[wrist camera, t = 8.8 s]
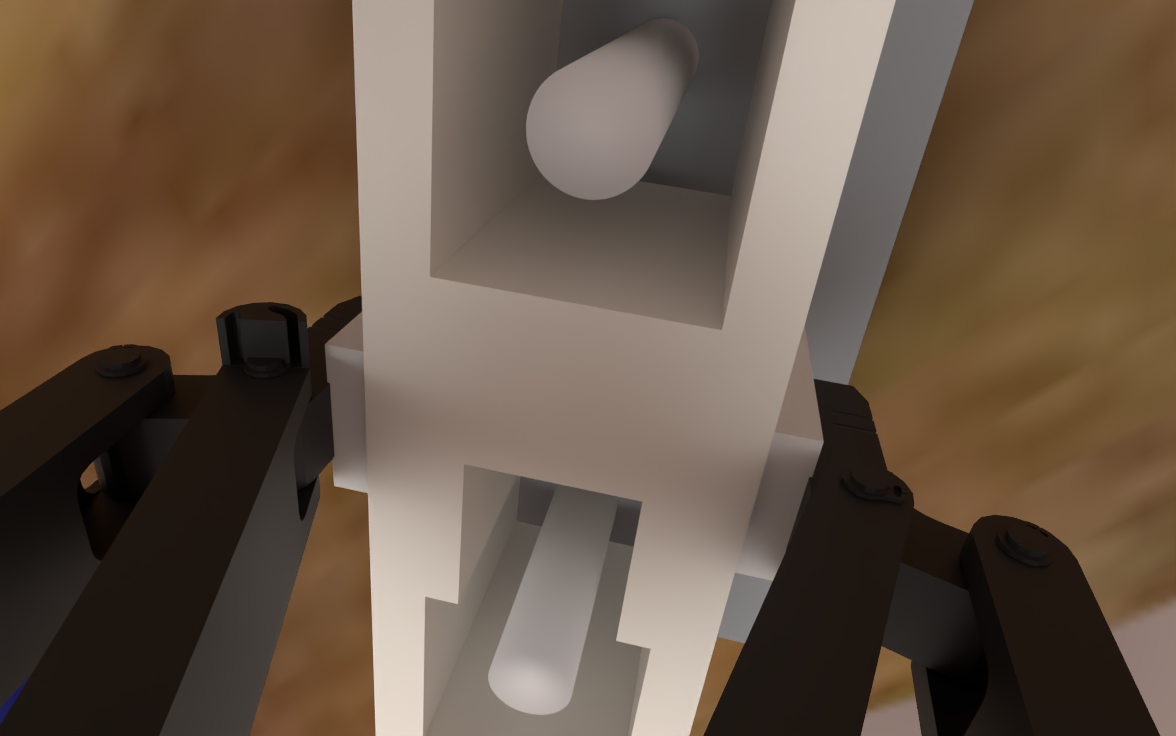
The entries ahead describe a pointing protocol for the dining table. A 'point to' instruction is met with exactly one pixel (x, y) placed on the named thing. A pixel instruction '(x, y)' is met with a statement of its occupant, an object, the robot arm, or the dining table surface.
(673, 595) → the white slotted block
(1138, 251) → the dining table surface
